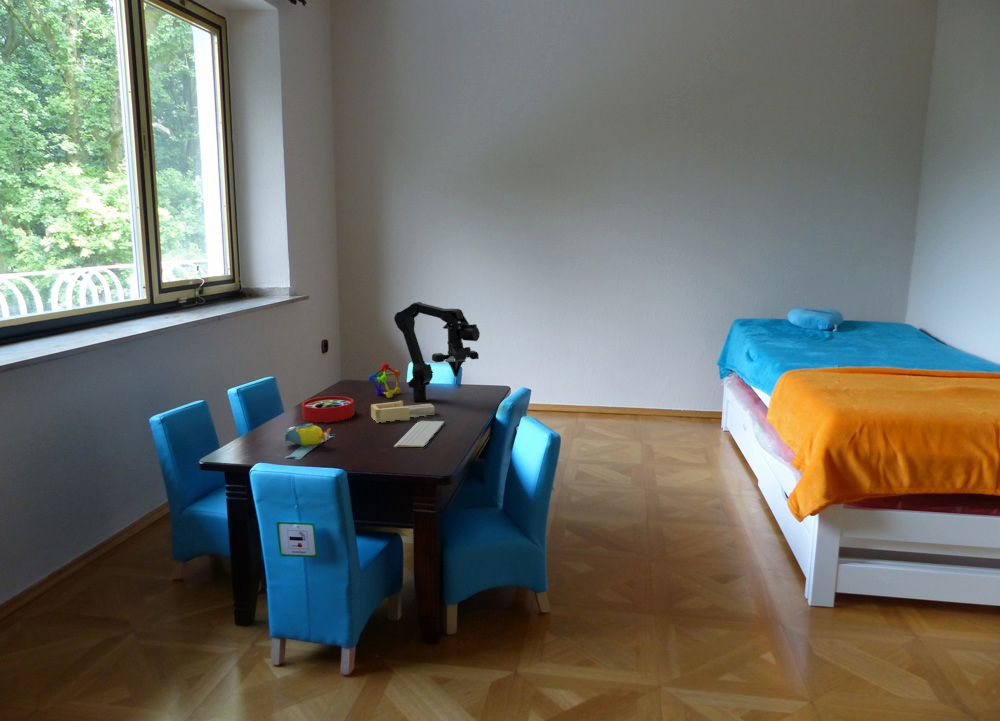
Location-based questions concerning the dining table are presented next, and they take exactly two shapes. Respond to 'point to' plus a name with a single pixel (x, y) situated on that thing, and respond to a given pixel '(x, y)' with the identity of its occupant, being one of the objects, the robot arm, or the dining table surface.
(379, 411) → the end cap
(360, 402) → the dining table surface
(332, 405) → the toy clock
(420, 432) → the baseboard molding
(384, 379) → the educational toy
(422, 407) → the ash slat
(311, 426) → the toy airplane
